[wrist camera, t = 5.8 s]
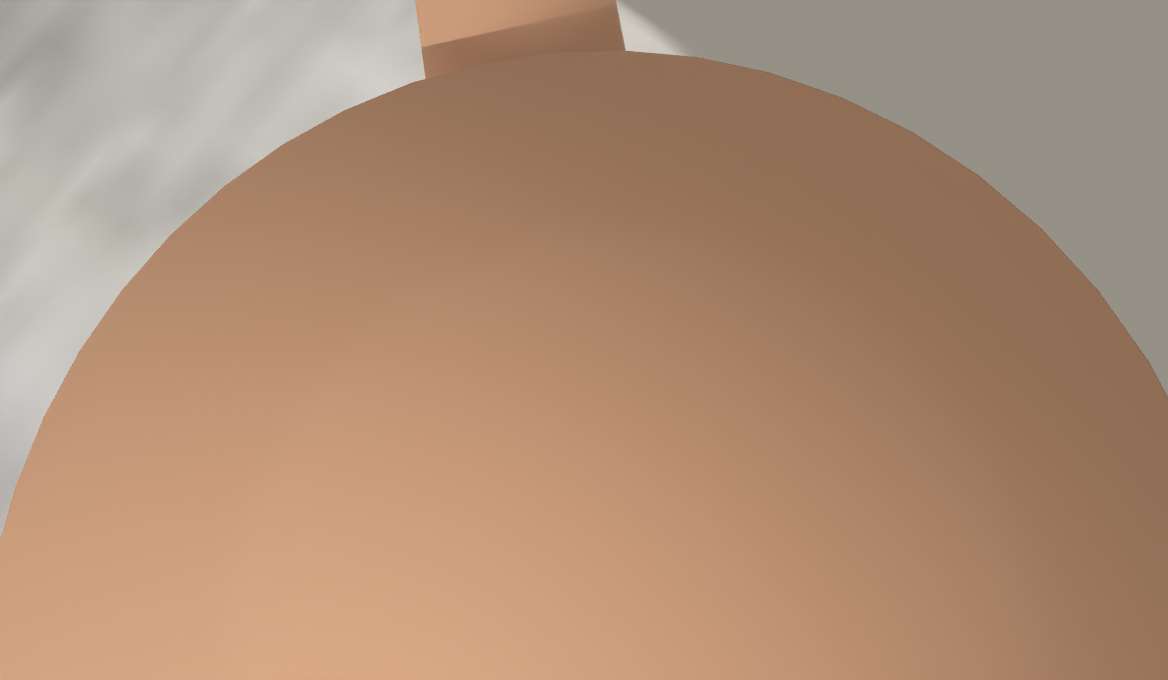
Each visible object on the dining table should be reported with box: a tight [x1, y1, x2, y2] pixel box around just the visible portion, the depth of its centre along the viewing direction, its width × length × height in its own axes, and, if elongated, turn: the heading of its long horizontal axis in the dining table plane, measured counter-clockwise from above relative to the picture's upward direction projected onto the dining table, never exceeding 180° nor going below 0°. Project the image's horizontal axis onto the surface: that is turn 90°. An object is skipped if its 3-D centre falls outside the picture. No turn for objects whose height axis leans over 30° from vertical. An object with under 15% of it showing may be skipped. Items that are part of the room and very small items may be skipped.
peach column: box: [0, 0, 1168, 680], centre depth 11 cm, size 8×6×12 cm
